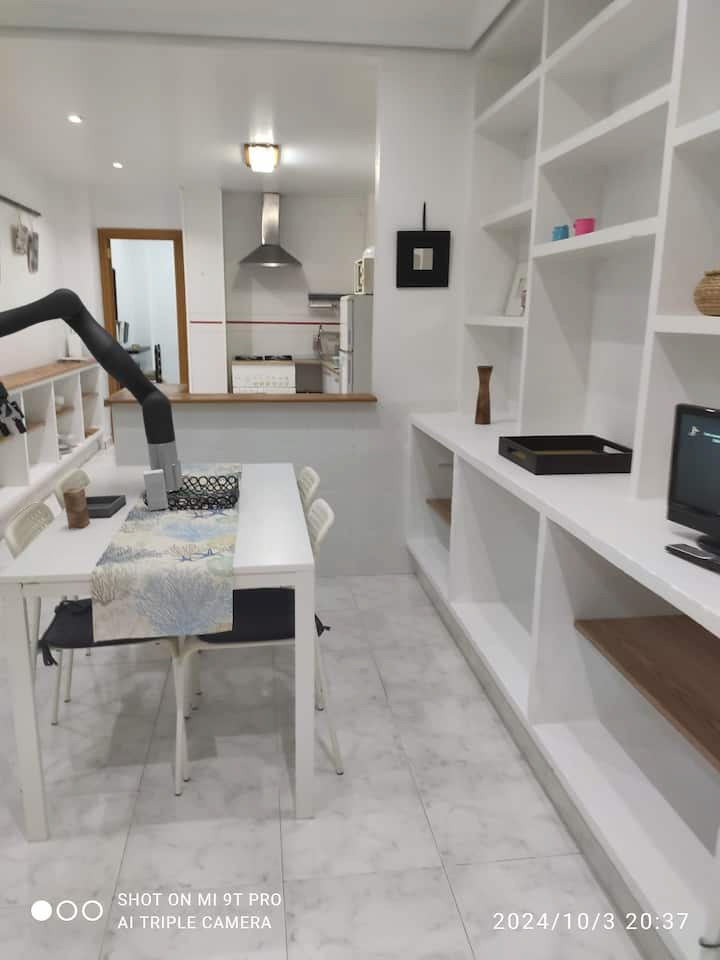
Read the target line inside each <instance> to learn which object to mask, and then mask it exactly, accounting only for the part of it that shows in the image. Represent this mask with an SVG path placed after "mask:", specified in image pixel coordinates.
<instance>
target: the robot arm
mask: <svg viewBox="0 0 720 960" xmlns="http://www.w3.org/2000/svg"><path fill="white" fill-rule="evenodd" d="M58 319H59V320H60V319H61V320H62V321H63V322H64V323H66V324H67V325H68V326H69V327H70V329H71V330H73V331H74V332H75V333H76V334H77V336H78V337H79V338H80V340H81V341H82V342H83V344H84V346H85V347H86V348H87V350H88V351H89V353H90V354H91V356H92V357H93V358H94V359H95V360H96V361H97V363H98V364H99V365H100V367H101V368H102V369H103V370H104V371H105V372H106V373H108V375H109V376H110V377H112V378H113V379H114V380H115V381H116V382H117V383H119V384H120V385H121V386H123V387H124V388H125V389H126V390H128V392H130V393H131V395H132V396H133V397H134V398H135V399H136V401H137V402H138V404H139V406H141V410H142V411H141V412H142V418H143V419H142V420H143V425H144V432H145V437H146V444H147V450H148V460H149V464H150V465H149V467H150V471H151V470H159V469H162V470H163V472H164V480H165V486H166V490H179V489H180V488H181V487H182V486H183V487H184V481H183V474H182V466H181V461H180V460H179V458H178V450H177V441H176V434H175V428H174V427H175V426H174V419H173V413H172V403H171V402H172V401H170V399H169V397H168V396H166V394H165V393H164V392H162V391H161V389H159V388H158V387H157V386H155V384H153V382H151V381H150V379H148V377H147V376H146V374H144V372H143V370H142V369H141V368H140V366H139V365H138V364H137V362H136V361H135V359H133V358H132V355H130V354H129V352H128V351H127V350H126V349H125V348H124V347H123V346H122V344H121V343H120V342H119V341H118V340H117V339H116V338H115V337H114V336H113V335H112V334H111V333H110V332H109V331H107V329H105V328H104V327H103V326H102V325H101V324H100V323H99V322H98V321H97V320H96V319H95V318H94V316H93V315H92V314H91V312H90V311H89V310H88V308H87V307H86V306H85V305H84V302H83V301H82V300H81V298H80V296H79V295H78V294H77V293H76V292H75V291H74V290H72V289H70V288H65V287H64V288H63V287H61V288H57V289H55V290H53V292H51V293H49V294H47V295H45V296H44V297H41V298H39V299H37V300H36V301H35V300H34V301H32V302H30V303H28V304H24V305H21V306H18V307H17V306H16V307H15V308H11V309H7V310H4V311H0V339H1V338H4V337H7V336H11V335H13V334H15V333H18V332H20V331H22V330H25V329H27V328H29V327H32V326H34V325H37V324H40V323H41V324H42V323H44V322H48V321H53V320H58ZM9 395H10V394H9V391H8V390H7V388H6V387H5V384H4V383H3V381H2V380H1V378H0V433H1V434H2V436H3V437H4V438H5V437H6V438H7V437H8V436H11V435H12V432H11V431H10V428H9V426H8V425H7V424H6V422H5V418H6V419H7V420H11V422H13V423H14V426H15V427H16V429H17V431H18V433H19V435H20V434H21V435H22V434H26V433H27V431H28V429H27V428H26V426H25V424H24V422H23V420H24V419H25V414H24V413H23V411H22V410H21V408H20V407H19V404H18V403H17V401H16V400H13V401H11V402H10V401H9V400H8V397H9Z"/></svg>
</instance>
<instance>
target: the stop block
mask: <svg viewBox="0 0 720 960" xmlns="http://www.w3.org/2000/svg"><path fill="white" fill-rule="evenodd" d="M62 496H63V501H64V507H65V513H66V517H67V518H66V519H67V523H68V529H69V528H79V529H85V528H86V527H87V526H88V524H89V525H90V524H91V522H90V518H89V515H88V509H87V503H86V497H87V496H86V492H85V488H84V487H82V488H79V487H78V488H68V489H67V490H65V491H63V493H62Z"/></svg>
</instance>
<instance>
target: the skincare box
mask: <svg viewBox="0 0 720 960" xmlns="http://www.w3.org/2000/svg"><path fill="white" fill-rule="evenodd" d="M143 479H144V486H145V487H144V488H145V492H146V498H147V505H148V510H149V511H150V512H151V511H159V510H163V509H169V501H168V493H166V486H165V480H164V472H163V470H162V469H159V470H151V469H150V470H146V471H144V470H143Z"/></svg>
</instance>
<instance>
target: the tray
mask: <svg viewBox="0 0 720 960" xmlns="http://www.w3.org/2000/svg"><path fill="white" fill-rule="evenodd" d="M85 497H86V503H87V509H88V515H89V519H104V518H105V519H106V518H109V519H110V518H112V517H113V516H114V515H115V514H116V513H117V512H118V511H120V510H121V509H122V508H123V507H125V506H126V505H127V499H126V494H120V495H119V494H117V495H116V494H115V495H95V496H94V495H92V496H89V495H88V496H85Z"/></svg>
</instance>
